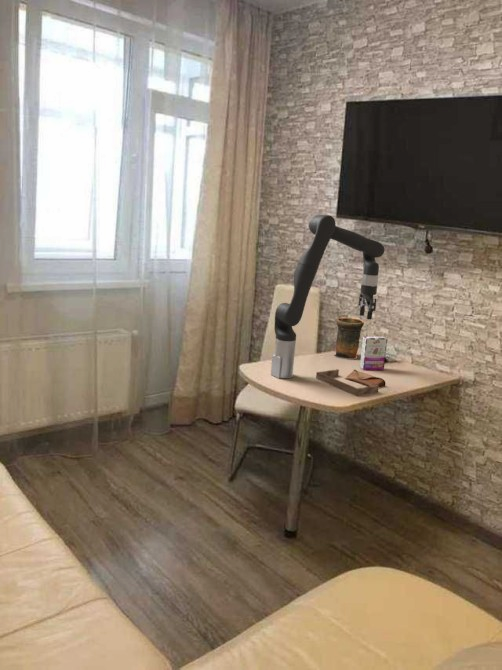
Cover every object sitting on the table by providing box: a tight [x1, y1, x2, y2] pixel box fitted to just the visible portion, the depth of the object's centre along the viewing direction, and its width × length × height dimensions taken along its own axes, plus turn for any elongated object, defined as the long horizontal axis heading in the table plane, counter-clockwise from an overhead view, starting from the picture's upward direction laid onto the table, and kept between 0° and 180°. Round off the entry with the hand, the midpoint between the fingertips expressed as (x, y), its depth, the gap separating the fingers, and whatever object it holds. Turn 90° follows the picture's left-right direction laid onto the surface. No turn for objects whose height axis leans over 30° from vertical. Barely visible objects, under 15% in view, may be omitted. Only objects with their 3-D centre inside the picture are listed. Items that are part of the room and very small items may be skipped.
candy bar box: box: [359, 335, 388, 371], centre depth 274 cm, size 11×5×16 cm, turn 101°
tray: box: [315, 368, 380, 397], centre depth 246 cm, size 13×26×3 cm, turn 35°
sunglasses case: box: [344, 369, 387, 389], centre depth 253 cm, size 18×7×7 cm, turn 44°
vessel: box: [333, 317, 365, 361], centre depth 295 cm, size 14×14×20 cm
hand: (365, 317), depth 268 cm, fingers open, 8 cm apart
